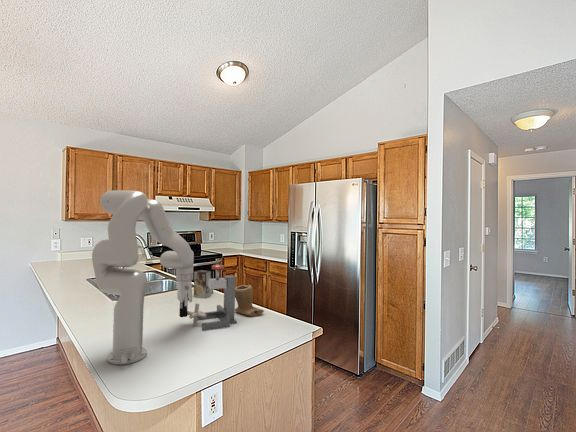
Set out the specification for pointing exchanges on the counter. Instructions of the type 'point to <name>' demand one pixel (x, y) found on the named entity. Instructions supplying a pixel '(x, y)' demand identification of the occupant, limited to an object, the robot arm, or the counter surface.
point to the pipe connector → (196, 314)
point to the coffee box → (201, 283)
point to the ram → (217, 279)
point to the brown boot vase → (246, 301)
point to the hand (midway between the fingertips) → (183, 316)
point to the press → (223, 313)
